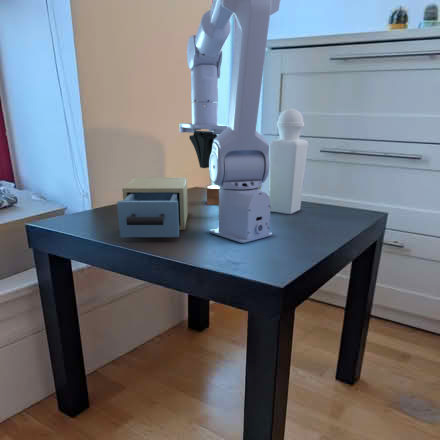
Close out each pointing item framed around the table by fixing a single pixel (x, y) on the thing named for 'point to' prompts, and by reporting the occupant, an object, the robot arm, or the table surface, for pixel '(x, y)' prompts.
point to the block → (212, 195)
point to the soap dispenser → (287, 164)
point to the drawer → (149, 215)
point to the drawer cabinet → (161, 191)
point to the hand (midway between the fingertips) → (205, 167)
